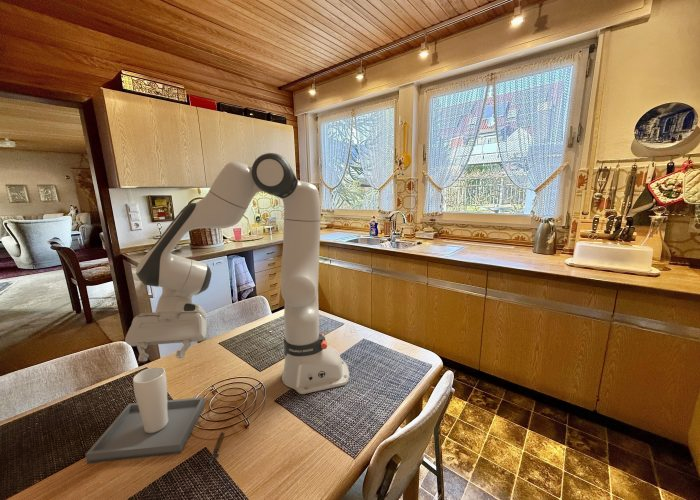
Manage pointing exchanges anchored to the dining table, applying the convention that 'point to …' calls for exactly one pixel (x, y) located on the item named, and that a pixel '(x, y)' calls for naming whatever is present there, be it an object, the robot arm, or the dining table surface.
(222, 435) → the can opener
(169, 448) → the tray
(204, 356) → the dining table surface
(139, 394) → the drinking glass
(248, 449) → the dining table surface
